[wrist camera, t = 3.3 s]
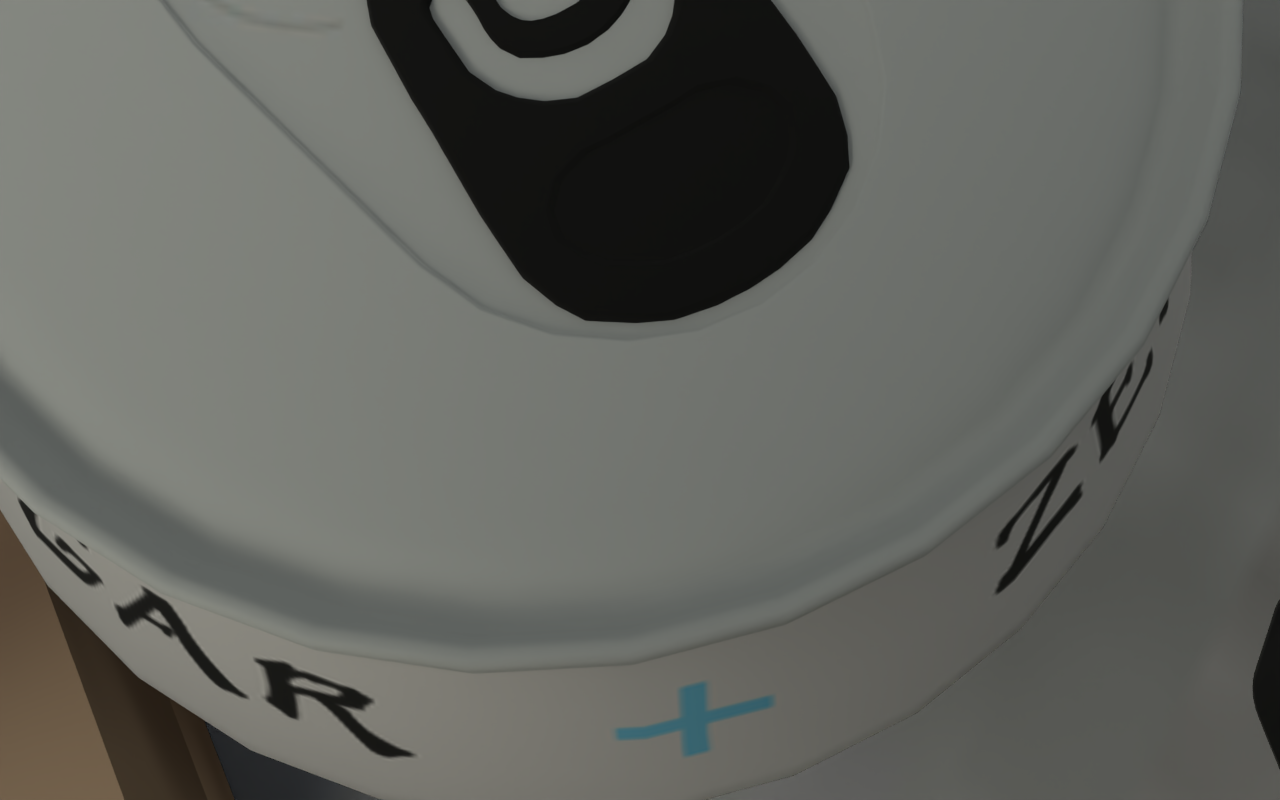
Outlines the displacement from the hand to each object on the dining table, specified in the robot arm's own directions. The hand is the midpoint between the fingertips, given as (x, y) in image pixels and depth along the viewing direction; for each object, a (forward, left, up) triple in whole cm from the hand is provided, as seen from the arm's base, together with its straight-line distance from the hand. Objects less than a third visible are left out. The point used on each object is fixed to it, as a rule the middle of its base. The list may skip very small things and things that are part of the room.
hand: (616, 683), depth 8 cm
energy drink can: (+1, -2, -10) cm, 11 cm away
